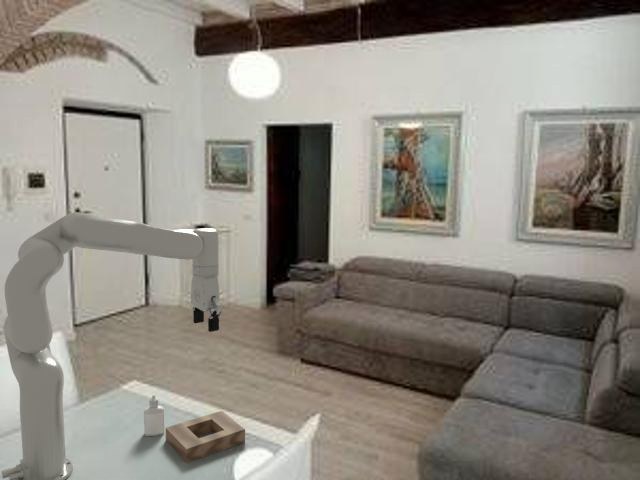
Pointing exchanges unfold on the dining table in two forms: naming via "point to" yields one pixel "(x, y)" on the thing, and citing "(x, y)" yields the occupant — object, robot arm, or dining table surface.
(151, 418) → the eye dropper bottle
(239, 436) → the socket block
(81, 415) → the dining table surface
